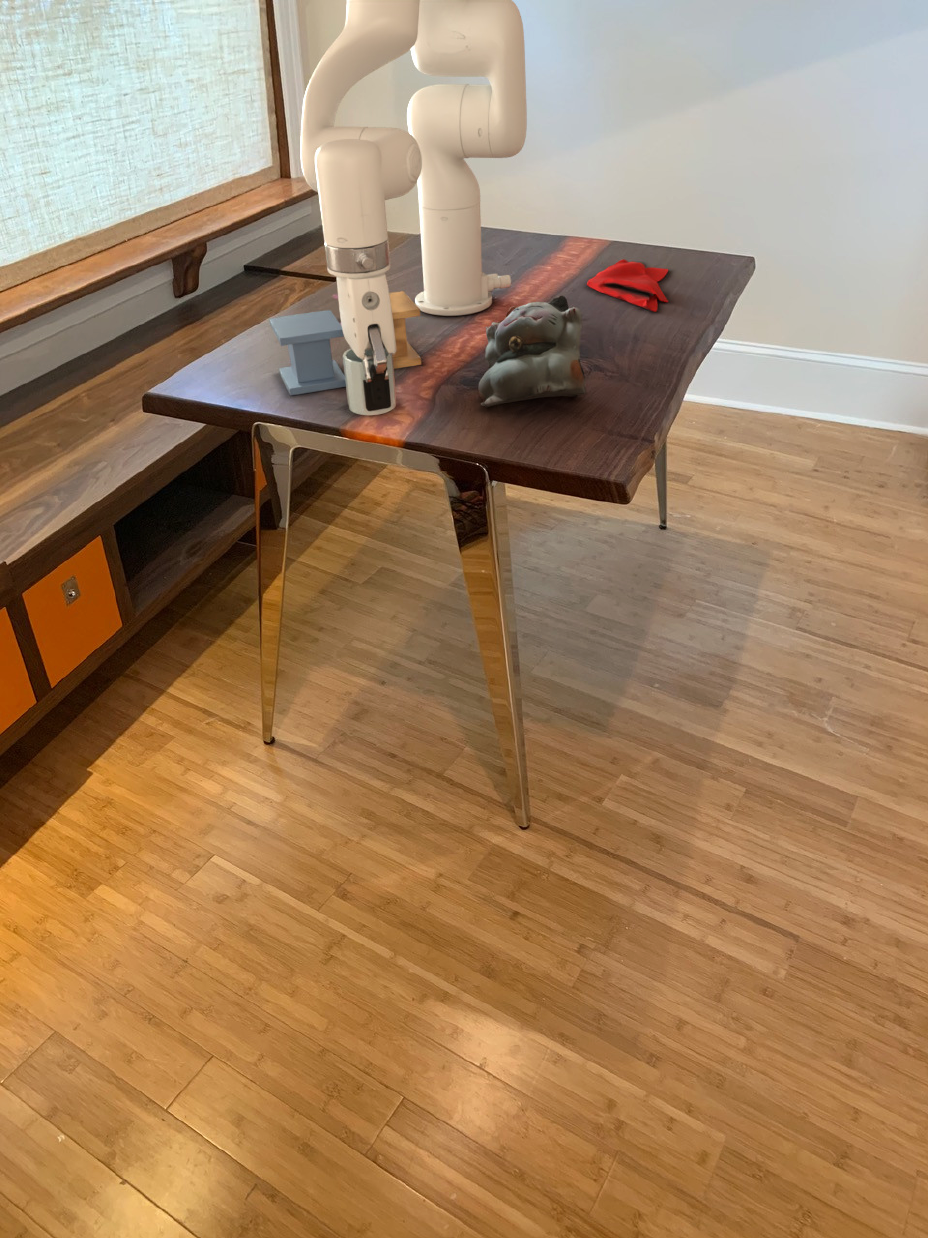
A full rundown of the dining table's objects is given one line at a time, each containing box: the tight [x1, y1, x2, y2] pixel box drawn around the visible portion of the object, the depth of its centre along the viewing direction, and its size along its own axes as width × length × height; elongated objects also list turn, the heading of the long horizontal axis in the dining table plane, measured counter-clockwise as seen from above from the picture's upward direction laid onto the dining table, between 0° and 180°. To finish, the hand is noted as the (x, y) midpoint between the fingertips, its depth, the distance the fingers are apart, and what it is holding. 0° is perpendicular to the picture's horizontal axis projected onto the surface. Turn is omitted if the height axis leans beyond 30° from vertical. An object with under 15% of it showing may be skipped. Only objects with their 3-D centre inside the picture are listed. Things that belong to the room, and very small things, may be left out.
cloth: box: [586, 258, 669, 312], centre depth 159 cm, size 26×14×2 cm, turn 169°
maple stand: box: [389, 290, 422, 370], centre depth 135 cm, size 8×8×8 cm
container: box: [342, 348, 397, 416], centre depth 122 cm, size 6×6×7 cm
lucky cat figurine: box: [478, 295, 587, 409], centre depth 121 cm, size 15×12×14 cm
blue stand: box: [268, 309, 346, 396], centre depth 129 cm, size 8×8×8 cm
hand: (371, 397), depth 123 cm, fingers closed on container, 6 cm apart
